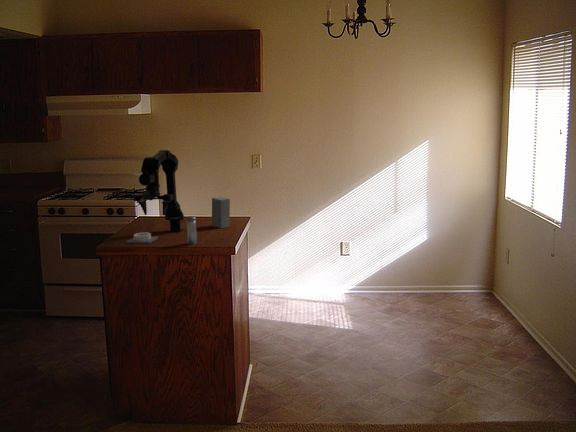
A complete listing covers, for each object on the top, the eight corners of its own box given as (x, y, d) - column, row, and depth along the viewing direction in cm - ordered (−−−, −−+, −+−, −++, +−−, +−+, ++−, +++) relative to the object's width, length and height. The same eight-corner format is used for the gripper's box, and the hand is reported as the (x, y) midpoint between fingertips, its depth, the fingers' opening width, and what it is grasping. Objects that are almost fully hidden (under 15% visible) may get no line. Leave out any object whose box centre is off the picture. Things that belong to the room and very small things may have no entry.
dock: (136, 237, 327) (135, 231, 326) (158, 238, 324) (157, 232, 324) (126, 242, 316) (126, 236, 315) (149, 243, 314) (148, 237, 313)
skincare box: (211, 226, 347) (210, 198, 344) (221, 224, 352) (220, 196, 349) (221, 228, 341) (219, 199, 338) (231, 226, 346) (230, 197, 343)
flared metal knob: (189, 242, 314) (187, 216, 311) (199, 242, 313) (197, 216, 310) (186, 244, 309) (184, 218, 306) (195, 244, 308) (194, 218, 305)
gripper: (127, 185, 301) (129, 217, 303) (165, 185, 298) (167, 217, 300) (137, 182, 312) (139, 214, 314) (173, 182, 309) (175, 214, 311)
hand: (154, 215), depth 310 cm, fingers open, 9 cm apart
